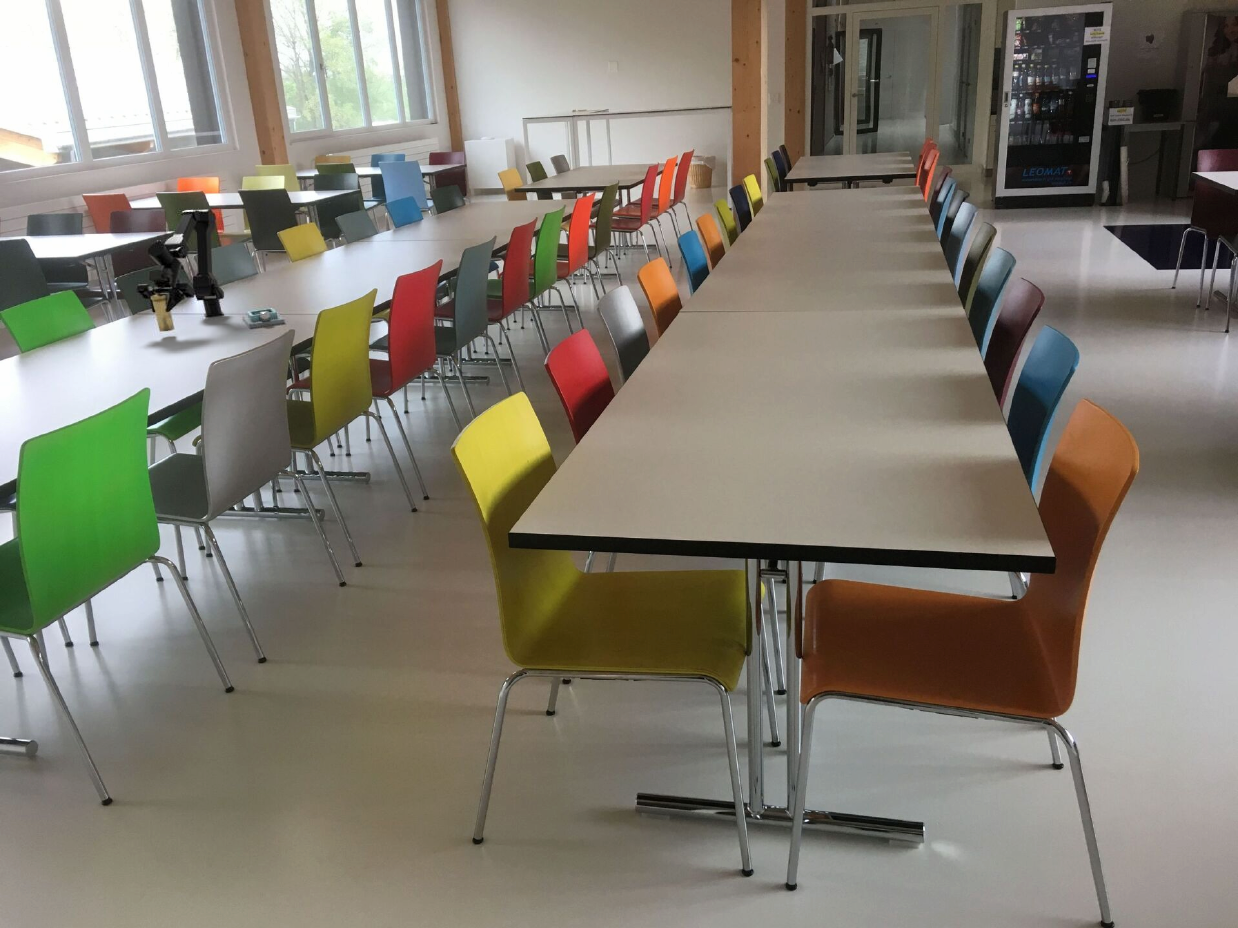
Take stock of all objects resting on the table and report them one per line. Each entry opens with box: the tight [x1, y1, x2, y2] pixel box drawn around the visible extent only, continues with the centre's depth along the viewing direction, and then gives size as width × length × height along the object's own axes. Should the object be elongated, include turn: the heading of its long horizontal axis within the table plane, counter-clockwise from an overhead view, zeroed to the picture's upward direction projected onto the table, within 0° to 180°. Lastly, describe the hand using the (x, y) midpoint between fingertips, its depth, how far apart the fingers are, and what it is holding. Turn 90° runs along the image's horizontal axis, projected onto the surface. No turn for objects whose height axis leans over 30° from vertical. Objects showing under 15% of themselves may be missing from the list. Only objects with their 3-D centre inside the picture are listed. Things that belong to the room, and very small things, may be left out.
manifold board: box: [241, 307, 286, 329], centre depth 347 cm, size 18×12×4 cm, turn 28°
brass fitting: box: [150, 294, 176, 332], centre depth 331 cm, size 5×5×12 cm
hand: (160, 311), depth 330 cm, fingers closed on brass fitting, 5 cm apart
